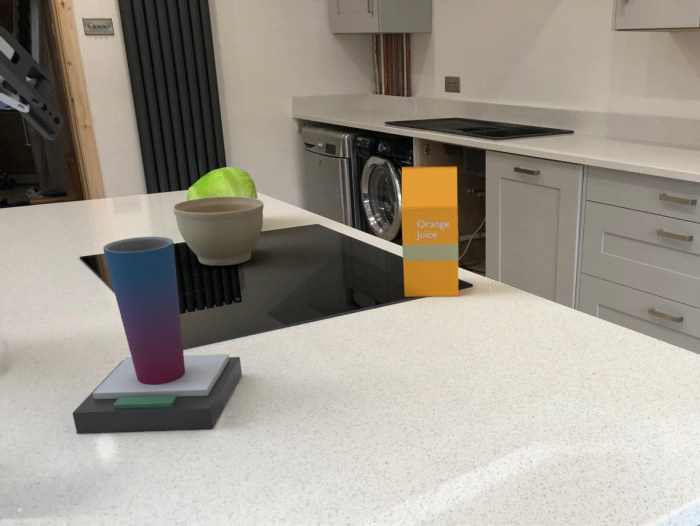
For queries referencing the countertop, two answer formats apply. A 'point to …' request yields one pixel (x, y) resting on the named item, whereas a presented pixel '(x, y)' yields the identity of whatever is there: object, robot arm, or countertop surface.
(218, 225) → the planter bowl
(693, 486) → the countertop surface
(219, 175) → the lettuce
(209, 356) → the scale
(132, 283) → the cup
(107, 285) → the countertop surface
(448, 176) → the orange juice
